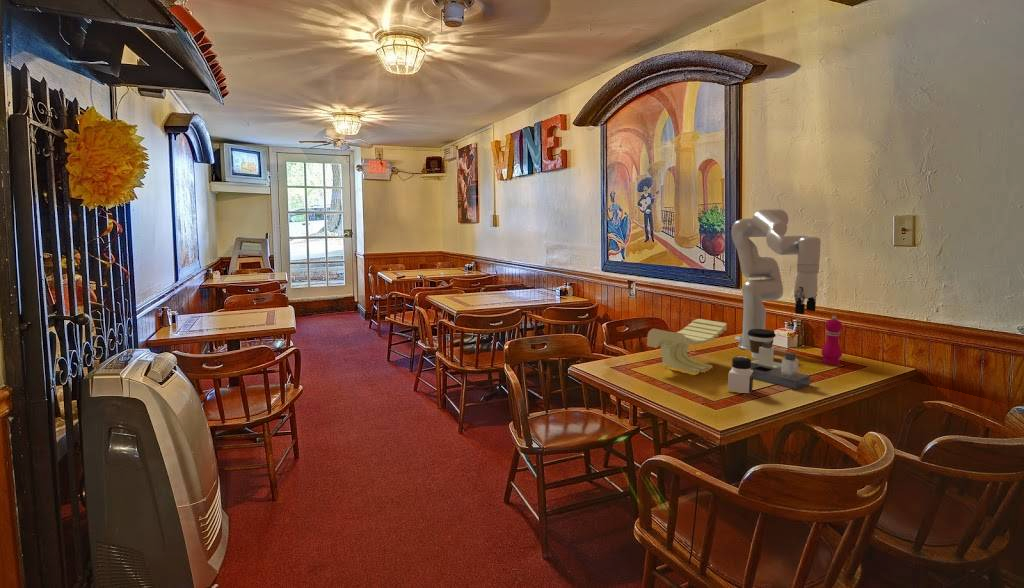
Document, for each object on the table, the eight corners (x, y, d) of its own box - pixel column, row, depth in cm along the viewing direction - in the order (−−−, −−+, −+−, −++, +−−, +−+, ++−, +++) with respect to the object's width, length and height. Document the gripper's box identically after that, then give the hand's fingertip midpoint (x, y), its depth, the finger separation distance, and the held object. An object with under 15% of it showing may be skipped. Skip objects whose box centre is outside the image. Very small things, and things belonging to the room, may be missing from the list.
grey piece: (733, 375, 212) (734, 346, 210) (747, 370, 217) (748, 342, 216) (795, 390, 192) (797, 358, 191) (809, 384, 198) (811, 354, 197)
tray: (744, 367, 221) (744, 363, 221) (759, 363, 227) (759, 358, 227) (771, 374, 212) (771, 369, 212) (786, 368, 219) (786, 364, 218)
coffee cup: (743, 355, 240) (745, 328, 239) (770, 356, 238) (772, 329, 236) (749, 361, 230) (750, 333, 228) (777, 362, 228) (778, 334, 226)
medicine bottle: (749, 395, 188) (751, 361, 187) (727, 392, 192) (728, 358, 190) (752, 389, 194) (754, 356, 193) (731, 386, 198) (732, 354, 196)
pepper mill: (835, 361, 228) (839, 314, 225) (844, 366, 221) (848, 317, 218) (817, 361, 229) (820, 314, 226) (825, 365, 222) (829, 317, 219)
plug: (758, 366, 220) (759, 342, 219) (763, 365, 222) (764, 340, 221) (767, 368, 217) (769, 344, 215) (773, 367, 219) (774, 342, 218)
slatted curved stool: (691, 358, 237) (692, 317, 234) (725, 365, 224) (726, 323, 222) (646, 370, 219) (647, 327, 216) (680, 380, 206) (682, 334, 204)
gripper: (807, 266, 221) (805, 308, 223) (787, 269, 210) (785, 313, 212) (827, 267, 215) (824, 310, 217) (808, 271, 204) (805, 316, 207)
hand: (805, 312), depth 215 cm, fingers open, 9 cm apart
